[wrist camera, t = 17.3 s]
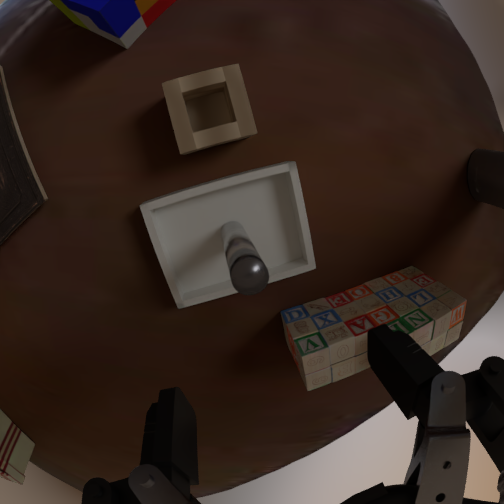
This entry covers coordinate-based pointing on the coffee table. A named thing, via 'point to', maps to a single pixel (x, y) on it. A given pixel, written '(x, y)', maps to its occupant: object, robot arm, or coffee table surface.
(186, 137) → the maple bore block
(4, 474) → the gift box
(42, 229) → the coffee table surface
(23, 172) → the hardcover book
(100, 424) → the coffee table surface
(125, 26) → the puzzle toy
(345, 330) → the stack of blocks
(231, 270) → the cylinder
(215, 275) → the tray
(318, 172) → the coffee table surface
